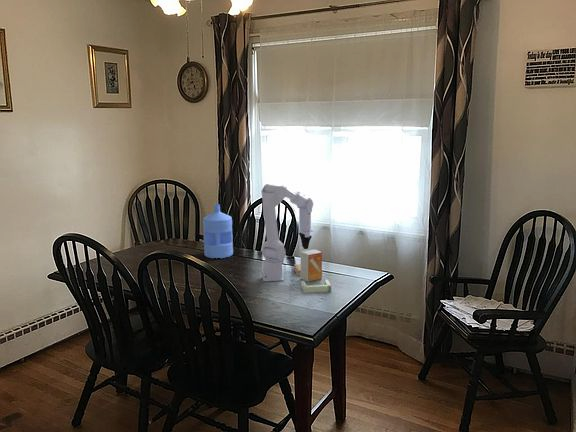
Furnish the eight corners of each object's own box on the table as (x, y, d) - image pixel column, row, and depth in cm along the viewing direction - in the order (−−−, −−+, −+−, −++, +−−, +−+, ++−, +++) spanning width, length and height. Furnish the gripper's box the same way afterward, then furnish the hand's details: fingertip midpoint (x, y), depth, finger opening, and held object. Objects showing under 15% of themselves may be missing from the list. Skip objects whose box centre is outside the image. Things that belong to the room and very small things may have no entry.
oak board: (297, 276, 233) (297, 270, 232) (294, 270, 243) (294, 264, 242) (322, 275, 234) (322, 269, 234) (318, 269, 244) (318, 263, 243)
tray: (303, 292, 211) (303, 287, 210) (301, 286, 219) (301, 280, 218) (331, 291, 212) (331, 285, 212) (327, 285, 220) (327, 279, 219)
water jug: (205, 251, 275) (202, 202, 269) (233, 250, 277) (231, 201, 271) (203, 259, 260) (201, 207, 254) (233, 258, 262) (231, 206, 256)
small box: (308, 282, 224) (308, 254, 221) (300, 278, 229) (300, 251, 226) (322, 278, 228) (322, 252, 226) (314, 275, 233) (314, 248, 231)
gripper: (315, 224, 237) (315, 251, 239) (310, 218, 251) (310, 243, 254) (300, 224, 236) (301, 251, 239) (297, 218, 250) (297, 244, 253)
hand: (305, 247), depth 246 cm, fingers open, 4 cm apart
